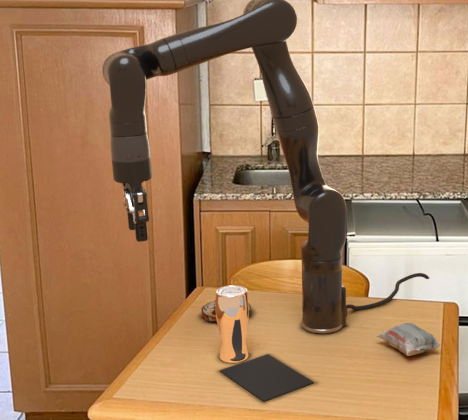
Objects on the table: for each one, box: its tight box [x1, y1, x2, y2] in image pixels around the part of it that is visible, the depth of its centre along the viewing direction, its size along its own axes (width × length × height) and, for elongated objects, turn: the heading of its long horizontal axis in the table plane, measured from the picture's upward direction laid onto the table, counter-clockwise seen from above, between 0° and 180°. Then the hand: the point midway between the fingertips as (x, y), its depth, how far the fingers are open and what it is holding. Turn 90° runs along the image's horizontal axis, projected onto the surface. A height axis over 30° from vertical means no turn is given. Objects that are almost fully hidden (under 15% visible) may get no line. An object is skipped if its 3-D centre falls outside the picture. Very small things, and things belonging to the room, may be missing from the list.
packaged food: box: [376, 322, 441, 357], centre depth 174 cm, size 9×12×5 cm
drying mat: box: [219, 353, 315, 403], centre depth 163 cm, size 16×12×1 cm
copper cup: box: [215, 284, 250, 364], centre depth 170 cm, size 7×7×15 cm
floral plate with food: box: [201, 300, 253, 323], centre depth 193 cm, size 12×12×8 cm
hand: (138, 234), depth 163 cm, fingers open, 8 cm apart
